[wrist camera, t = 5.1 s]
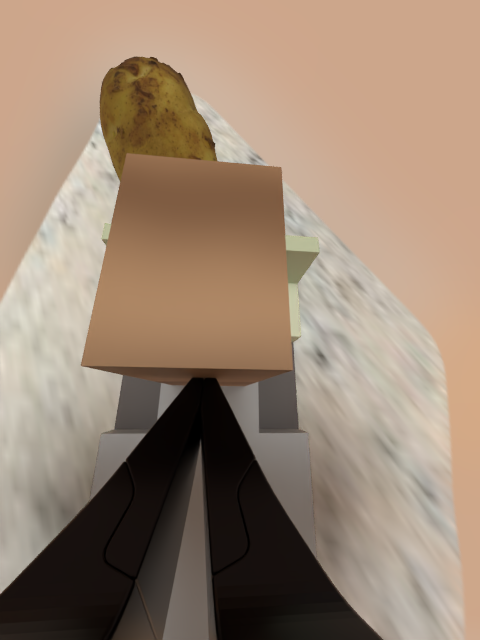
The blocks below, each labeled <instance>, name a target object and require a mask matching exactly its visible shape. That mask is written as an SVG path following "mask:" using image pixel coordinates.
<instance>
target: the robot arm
mask: <svg viewBox="0 0 480 640" xmlns="http://www.w3.org/2000/svg"><path fill="white" fill-rule="evenodd" d="M200 444H201V463H202V487H203V511H204V535H205V559H206V582H207V606H208V630H209V640H383V639H382V638H381V637H380V636H379V635H378V634H377V633H376V632H375V631H374V630H373V629H372V628H371V627H370V626H369V625H368V624H367V623H366V622H365V621H364V620H363V619H362V618H361V617H360V616H359V615H358V614H357V612H356V611H355V610H354V609H353V608H352V607H351V606H350V605H349V604H348V602H347V601H346V600H345V599H344V597H343V596H342V595H341V594H340V592H339V591H338V590H337V588H336V587H335V586H334V584H333V583H332V581H331V580H330V579H329V577H328V576H327V574H326V573H325V571H324V570H323V568H322V567H321V565H320V563H319V562H318V560H317V559H316V557H315V556H314V554H313V553H312V551H311V550H310V548H309V546H308V545H307V543H306V542H305V540H304V539H303V537H302V536H301V534H300V533H299V531H298V529H297V528H296V526H295V525H294V523H293V522H292V520H291V519H290V517H289V516H288V514H287V513H286V511H285V509H284V508H283V506H282V504H281V503H280V501H279V499H278V498H277V496H276V495H275V493H274V491H273V489H272V488H271V486H270V484H269V482H268V480H267V478H266V476H265V474H264V473H263V471H262V469H261V467H260V465H259V463H258V461H257V460H256V457H255V455H254V453H253V451H252V449H251V447H250V445H249V443H248V441H247V439H246V437H245V435H244V433H243V431H242V429H241V427H240V425H239V423H238V421H237V419H236V417H235V415H234V413H233V411H232V409H231V407H230V405H229V403H228V401H227V399H226V397H225V395H224V393H223V391H222V388H221V386H220V384H219V382H218V380H217V379H216V378H205V379H204V378H191V379H190V381H189V382H188V383H187V384H186V386H185V387H184V388H183V389H182V391H181V392H180V393H179V394H178V395H177V397H176V398H175V399H174V400H173V402H172V403H171V404H170V405H169V406H168V408H167V409H166V410H165V411H164V413H163V414H162V415H161V416H160V418H159V419H158V420H157V421H156V422H155V424H154V425H153V426H152V427H151V429H150V430H149V431H148V432H147V433H146V435H145V436H144V437H143V438H142V440H141V441H140V442H139V443H138V445H137V446H136V447H135V448H134V449H133V451H132V452H131V453H130V454H129V456H128V457H127V458H126V462H125V461H124V462H123V463H122V464H121V465H120V466H119V468H118V469H117V470H116V471H115V473H114V474H113V475H112V476H111V477H110V479H109V480H108V481H107V482H106V483H105V484H104V486H103V487H102V488H101V489H100V490H99V491H98V493H97V494H96V495H95V496H94V497H93V498H92V499H91V500H90V501H89V502H88V504H87V505H86V506H85V507H84V508H83V509H82V510H81V511H80V512H79V513H78V514H77V515H76V516H75V517H74V519H73V520H72V521H71V522H70V523H69V524H68V525H67V526H66V527H65V528H64V529H63V530H62V531H61V532H60V533H59V534H58V535H57V536H56V537H55V538H54V539H53V540H52V541H51V542H50V543H49V544H48V546H47V547H46V548H45V549H44V550H43V551H42V552H41V553H40V554H39V555H38V556H37V557H36V558H35V559H34V560H33V561H32V562H31V563H30V564H29V565H28V566H27V567H26V568H25V569H24V570H23V571H22V573H21V574H20V575H19V576H18V577H17V578H16V579H15V580H14V581H13V582H12V583H11V584H10V585H9V586H8V587H7V588H6V589H5V590H4V591H3V592H2V593H1V594H0V640H162V639H163V634H164V629H165V624H166V619H167V614H168V609H169V604H170V599H171V594H172V588H173V583H174V578H175V573H176V568H177V563H178V558H179V553H180V548H181V542H182V537H183V532H184V527H185V522H186V517H187V512H188V507H189V502H190V497H191V491H192V486H193V481H194V476H195V471H196V466H197V461H198V456H199V450H200Z"/></svg>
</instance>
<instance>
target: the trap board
mask: <svg viewBox="0 0 480 640" xmlns="http://www.w3.org/2000/svg"><path fill="white" fill-rule="evenodd" d="M110 228H111V224H107V223H105V225H104V229H103V234H102V238H101V239H102V240H103V242H104V243H105V244H106V246H107V242H108V237H109V233H110ZM285 239H286V257H287V274H288V292H289V309H290V326H291V344H292V361H293V370H292V371H289V372H286V373H283V374H280V375H277V376H274V377H271V378H268V379H265V380H262V381H259V382H256V383H253V384H250V385H247V386H221V388H222V391H223V393H224V395H225V397H226V399H227V401H228V403H229V405H230V407H231V409H232V411H233V413H234V415H235V417H236V419H237V421H238V423H239V425H240V427H241V429H242V431H243V433H244V435H245V437H246V439H247V441H248V443H249V445H250V447H251V449H252V451H253V453H254V455H255V457H256V460H257V461H258V463H259V465H260V467H261V469H262V471H263V473H264V474H265V476H266V478H267V480H268V482H269V484H270V486H271V488H272V489H273V491H274V493H275V495H276V496H277V498H278V499H279V501H280V503H281V504H282V506H283V508H284V509H285V511H286V513H287V514H288V516H289V517H290V519H291V520H292V522H293V523H294V525H295V526H296V528H297V529H298V531H299V533H300V534H301V536H302V537H303V539H304V540H305V542H306V543H307V545H308V546H309V548H310V550H311V551H312V553H313V554H314V556H315V557H316V559H317V550H316V536H315V522H314V508H313V494H312V480H311V467H310V453H309V439H308V433H307V432H304V431H302V430H300V429H298V414H297V398H296V381H295V365H294V348H293V342H294V341H296V340H297V339H298V338H300V337H301V328H300V314H299V301H298V287H297V283H298V282H299V281H300V279H301V278H302V276H303V275H304V273H305V272H306V271H307V269H308V268H309V266H310V265H311V264H312V262H313V261H314V259H315V258H316V257H317V255H318V254H319V242H318V238H317V237H302V236H287V235H285ZM185 386H186V385H168V384H164V383H159V382H154V381H150V380H145V379H140V378H136V377H131V376H126V375H123V379H122V385H121V391H120V398H119V404H118V410H117V417H116V423H115V429H114V430H111V431H108V432H105V433H102V434H101V438H100V443H99V449H98V455H97V461H96V466H95V472H94V478H93V484H92V490H91V495H90V500H91V499H92V498H93V497H94V496H95V495H96V494H97V493H98V491H99V490H100V489H101V488H102V487H103V486H104V484H105V483H106V482H107V481H108V480H109V479H110V477H111V476H112V475H113V474H114V473H115V471H116V470H117V469H118V468H119V466H120V465H121V464H122V463H123V462H124V461H125V462H126V458H127V457H128V456H129V454H130V453H131V452H132V451H133V449H134V448H135V447H136V446H137V445H138V443H139V442H140V441H141V440H142V438H143V437H144V436H145V435H146V433H147V432H148V431H149V430H150V429H151V427H152V426H153V425H154V424H155V422H156V421H157V420H158V419H159V418H160V416H161V415H162V414H163V413H164V411H165V410H166V409H167V408H168V406H169V405H170V404H171V403H172V402H173V400H174V399H175V398H176V397H177V395H178V394H179V393H180V392H181V391H182V389H183V388H184V387H185ZM162 640H209V630H208V606H207V582H206V559H205V535H204V511H203V487H202V463H201V444H200V450H199V456H198V461H197V466H196V471H195V476H194V481H193V486H192V491H191V497H190V502H189V507H188V512H187V517H186V522H185V527H184V532H183V537H182V542H181V548H180V553H179V558H178V563H177V568H176V573H175V578H174V583H173V588H172V594H171V599H170V604H169V609H168V614H167V619H166V624H165V629H164V634H163V639H162Z"/></svg>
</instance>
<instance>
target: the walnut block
mask: <svg viewBox="0 0 480 640" xmlns="http://www.w3.org/2000/svg"><path fill="white" fill-rule="evenodd" d="M81 366H84V367H89V368H93V369H98V370H103V371H107V372H112V373H117V374H121V375H126V376H131V377H136V378H140V379H145V380H150V381H154V382H159V383H164V384H168V385H186V384H187V383H188V382H189V381H190V379H191V378H204V379H205V378H216V379H217V380H218V382H219V384H220V386H247V385H250V384H253V383H256V382H259V381H262V380H265V379H268V378H271V377H274V376H277V375H280V374H283V373H286V372H289V371H292V370H293V361H292V344H291V326H290V309H289V292H288V274H287V257H286V239H285V222H284V205H283V187H282V170H281V167H272V166H261V165H250V164H239V163H228V162H218V161H207V160H196V159H185V158H174V157H163V156H152V155H141V154H130V153H127V154H126V158H125V163H124V168H123V172H122V177H121V182H120V186H119V191H118V195H117V200H116V205H115V209H114V214H113V219H112V223H111V228H110V233H109V237H108V242H107V246H106V251H105V256H104V260H103V265H102V270H101V274H100V279H99V284H98V288H97V293H96V297H95V302H94V307H93V311H92V316H91V321H90V325H89V330H88V335H87V339H86V344H85V348H84V353H83V358H82V362H81Z"/></svg>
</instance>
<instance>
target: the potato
mask: <svg viewBox="0 0 480 640" xmlns="http://www.w3.org/2000/svg"><path fill="white" fill-rule="evenodd" d="M100 120H101V127H102V132H103V136H104V139H105V142H106V144H107V147H108V150H109V153H110V156H111V159H112V163H113V166H114V168H115V171H116V173H117V175H118V177H119V180H120V182H121V177H122V172H123V168H124V163H125V158H126V154H127V153H130V154H141V155H152V156H163V157H174V158H185V159H196V160H207V161H217V158H216V153H215V148H214V147H215V143H214V142H213V139H212V135H211V132H210V130H209V127H208V125H207V124H206V122H205V120H204V119H203V117H202V116H201V115H200V114H199V113H198V111H197V109H196V107H195V104H194V101H193V98H192V96H191V93H190V91H189V89H188V87H187V85H186V83H185V81H184V79H183V77H182V75H181V74H180V73H177V72H176V71H175V70H173V69H172V68H171V67H170V66H169V65H166V64H164V63H160V62H158V60H157V59H156V58H154V57H150V58H145V57H133V58H130V59H127V60H125V61H124V62H123V63H121V64H120V65H119V66H117V67H115V68H111V69H110V70H109V71H108V73H107V74H106V76H105V78H104V79H103V82H102V87H101V95H100Z"/></svg>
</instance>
